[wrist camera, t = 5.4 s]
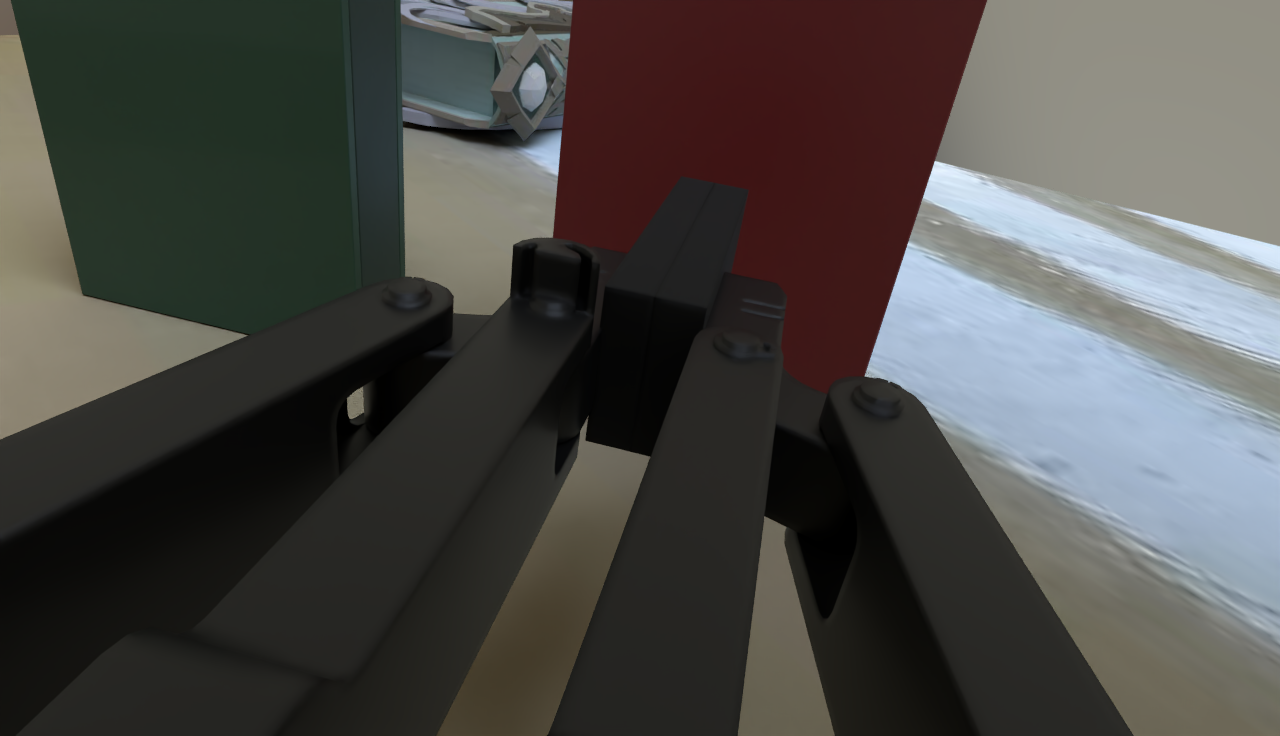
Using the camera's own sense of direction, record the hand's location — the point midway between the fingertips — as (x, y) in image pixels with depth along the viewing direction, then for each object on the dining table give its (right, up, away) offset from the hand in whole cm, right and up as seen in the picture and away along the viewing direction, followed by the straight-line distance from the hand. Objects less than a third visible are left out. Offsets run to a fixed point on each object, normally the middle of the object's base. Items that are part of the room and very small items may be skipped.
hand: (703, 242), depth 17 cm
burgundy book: (0, -4, +10) cm, 11 cm away
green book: (-16, -1, +12) cm, 20 cm away
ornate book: (-13, +20, +49) cm, 54 cm away
